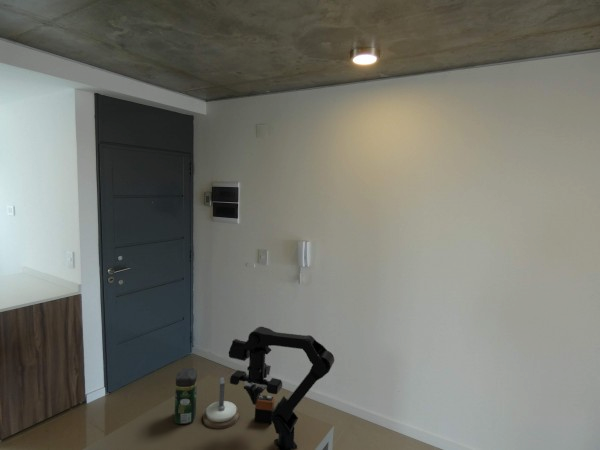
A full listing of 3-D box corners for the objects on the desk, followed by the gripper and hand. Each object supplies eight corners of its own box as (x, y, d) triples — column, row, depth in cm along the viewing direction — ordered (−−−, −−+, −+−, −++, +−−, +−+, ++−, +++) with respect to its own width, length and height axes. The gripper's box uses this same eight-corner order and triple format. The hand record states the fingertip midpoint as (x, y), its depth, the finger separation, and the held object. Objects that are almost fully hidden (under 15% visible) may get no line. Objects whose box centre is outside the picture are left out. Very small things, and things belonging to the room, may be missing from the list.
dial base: (243, 423, 137) (243, 419, 136) (207, 432, 130) (207, 427, 130) (233, 404, 149) (233, 400, 149) (199, 411, 143) (199, 407, 142)
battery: (271, 424, 137) (272, 399, 136) (254, 422, 138) (255, 397, 137) (273, 418, 141) (274, 394, 141) (256, 416, 142) (258, 392, 141)
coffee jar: (176, 410, 142) (178, 366, 141) (196, 409, 143) (198, 365, 142) (172, 426, 133) (173, 378, 131) (193, 424, 134) (195, 377, 133)
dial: (242, 411, 142) (243, 383, 141) (222, 425, 132) (223, 396, 131) (220, 401, 147) (221, 374, 147) (199, 414, 137) (201, 386, 137)
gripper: (288, 358, 133) (286, 398, 134) (244, 349, 139) (242, 388, 140) (277, 371, 122) (275, 414, 123) (230, 361, 128) (227, 402, 129)
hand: (254, 404), depth 129 cm, fingers closed
